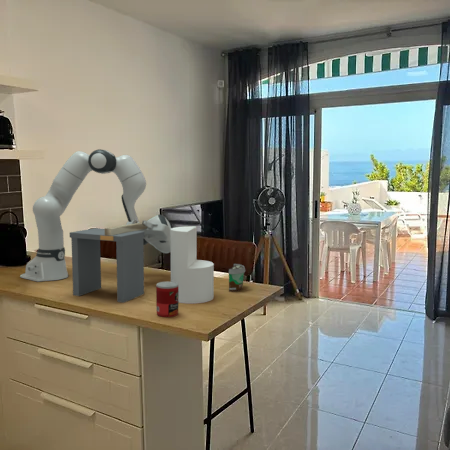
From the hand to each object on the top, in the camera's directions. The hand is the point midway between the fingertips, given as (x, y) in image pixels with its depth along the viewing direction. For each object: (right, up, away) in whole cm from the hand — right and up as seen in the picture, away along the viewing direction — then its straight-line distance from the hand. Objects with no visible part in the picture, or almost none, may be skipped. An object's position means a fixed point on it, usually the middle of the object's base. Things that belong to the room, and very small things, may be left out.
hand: (138, 221), depth 192 cm
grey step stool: (-11, -30, -6) cm, 33 cm away
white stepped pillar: (+24, -31, -9) cm, 40 cm away
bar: (-3, -4, -7) cm, 8 cm away
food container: (+43, -30, +4) cm, 52 cm away
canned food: (+16, -33, -31) cm, 48 cm away
